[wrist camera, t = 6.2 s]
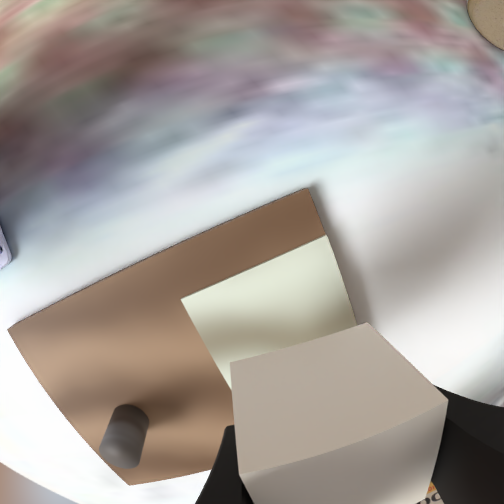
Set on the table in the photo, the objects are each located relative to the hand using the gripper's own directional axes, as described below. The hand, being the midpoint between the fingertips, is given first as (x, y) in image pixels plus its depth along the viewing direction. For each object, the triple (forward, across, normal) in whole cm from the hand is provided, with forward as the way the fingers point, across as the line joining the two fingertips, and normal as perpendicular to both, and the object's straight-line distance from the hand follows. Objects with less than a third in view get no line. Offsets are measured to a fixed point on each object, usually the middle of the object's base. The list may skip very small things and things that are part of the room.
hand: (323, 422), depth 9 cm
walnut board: (+8, +6, +2) cm, 10 cm away
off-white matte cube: (+2, 0, 0) cm, 2 cm away
